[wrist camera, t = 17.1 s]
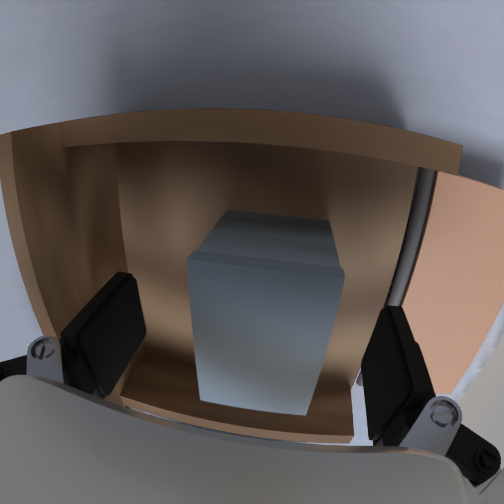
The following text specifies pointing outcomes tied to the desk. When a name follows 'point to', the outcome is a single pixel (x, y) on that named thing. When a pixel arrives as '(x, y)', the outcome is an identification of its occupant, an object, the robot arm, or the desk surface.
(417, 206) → the panel
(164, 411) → the brown open box
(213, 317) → the blue gray block
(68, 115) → the desk surface
